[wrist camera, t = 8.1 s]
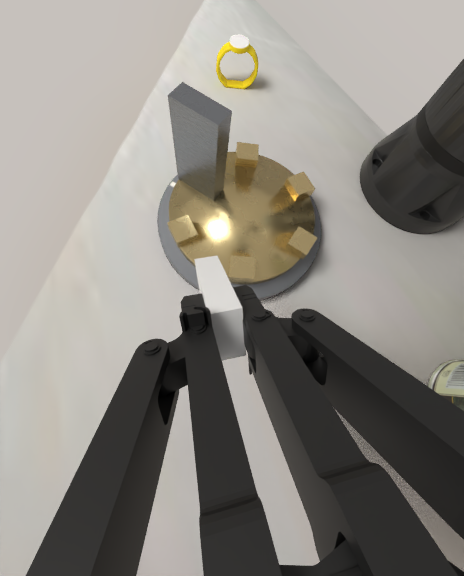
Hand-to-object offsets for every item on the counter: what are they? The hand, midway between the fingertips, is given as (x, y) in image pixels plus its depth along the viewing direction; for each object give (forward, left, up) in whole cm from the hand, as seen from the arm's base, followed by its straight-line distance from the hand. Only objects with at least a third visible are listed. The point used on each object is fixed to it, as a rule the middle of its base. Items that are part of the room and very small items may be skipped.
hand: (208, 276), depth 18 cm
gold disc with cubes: (-10, -8, -11) cm, 17 cm away
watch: (-23, -29, -14) cm, 39 cm away
